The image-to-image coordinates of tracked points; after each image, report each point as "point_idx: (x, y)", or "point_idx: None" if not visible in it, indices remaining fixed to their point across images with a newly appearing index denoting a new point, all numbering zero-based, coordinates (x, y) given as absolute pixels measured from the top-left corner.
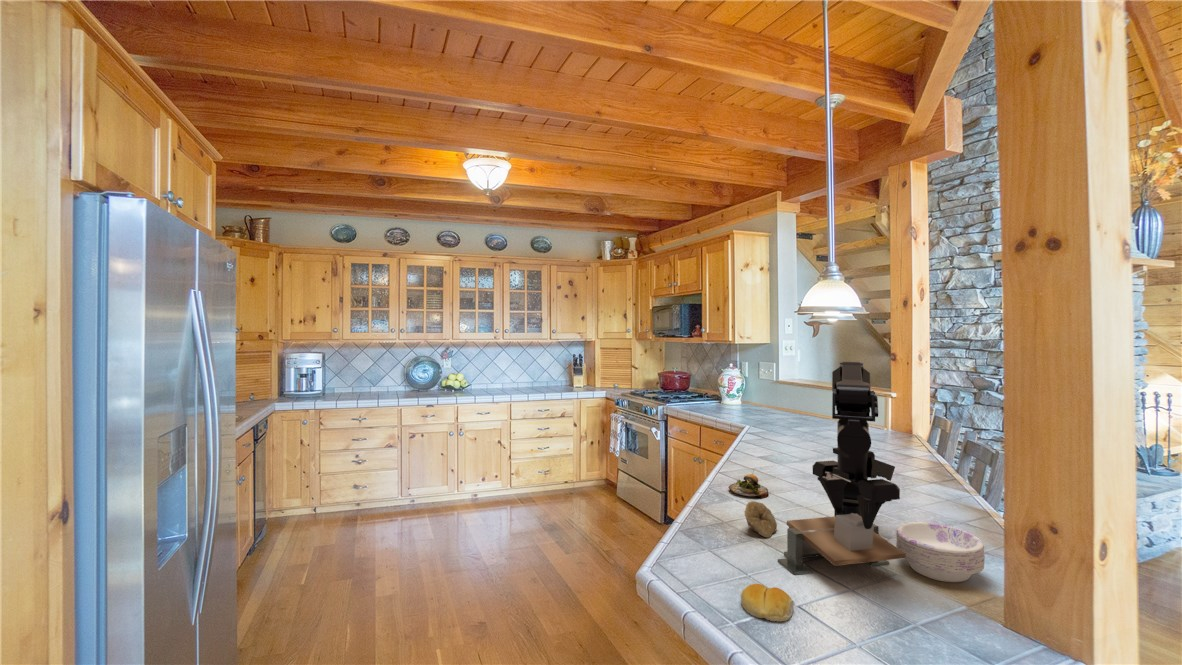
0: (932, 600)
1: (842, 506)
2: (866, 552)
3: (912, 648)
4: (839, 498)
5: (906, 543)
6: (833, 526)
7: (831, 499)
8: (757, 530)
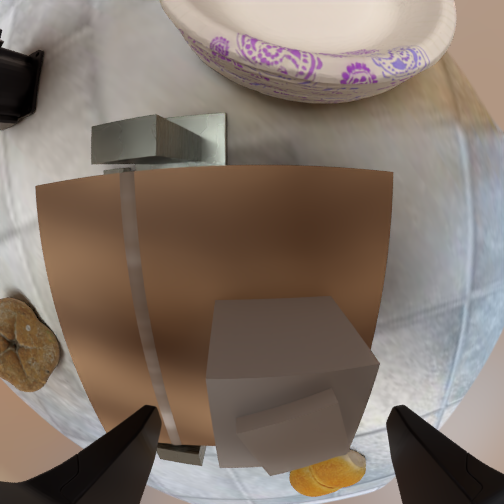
0: (430, 177)
1: (139, 429)
2: None
3: (485, 347)
4: (120, 477)
5: (319, 86)
6: (126, 333)
7: (138, 498)
8: (53, 369)
